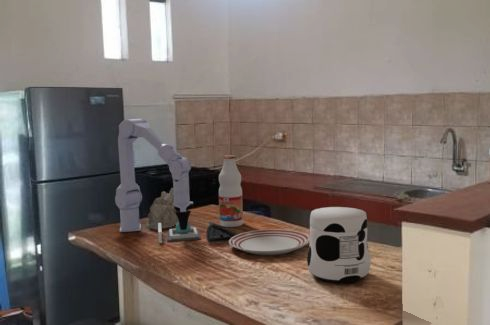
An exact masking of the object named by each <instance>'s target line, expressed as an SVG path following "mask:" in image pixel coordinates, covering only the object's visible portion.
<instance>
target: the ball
mask: <svg viewBox="0 0 490 325" xmlns="http://www.w3.org/2000/svg"><path fill="white" fill-rule="evenodd" d="M190 228H191V224H190V222H189V221H188V224H187V229H186V230H181V229H180V225H179V222H178V223H177V224H176V226H175V229H176V231H177V233H178V234H187V233H188V232H189V231H190Z"/></svg>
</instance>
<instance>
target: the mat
mask: <svg viewBox="0 0 490 325" xmlns="http://www.w3.org/2000/svg"><path fill="white" fill-rule="evenodd" d="M166 239H167V243H168V242H169V243H170V241H171V242H182V241H194V240H195V241H197V240H202V237H201V234H200V231H199V229H197V227H196V226H195V227H191V226H190V231H189V232H188V233H187V234H178V233H177V231H176V228H169V229H168V231H166Z"/></svg>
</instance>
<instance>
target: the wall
mask: <svg viewBox="0 0 490 325" xmlns="http://www.w3.org/2000/svg"><path fill="white" fill-rule="evenodd" d="M162 229H163V228H162ZM162 229H161V223H158V229H157V231H158V232H157V234H158V244H163V234H162Z"/></svg>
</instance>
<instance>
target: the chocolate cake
mask: <svg viewBox="0 0 490 325" xmlns="http://www.w3.org/2000/svg"><path fill="white" fill-rule="evenodd" d="M238 234H239V232H236V231H235V230H231V229H229V228H228V227H224V226H221V225H220V224H217V223H214V222H212V221H209V224H208V227H207V229H206V233H205V236H206V242H207V243H208V244H218V243H217V242H221V243H229V240H230V239H231V238H232V237H233V236H235V235H238Z"/></svg>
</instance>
